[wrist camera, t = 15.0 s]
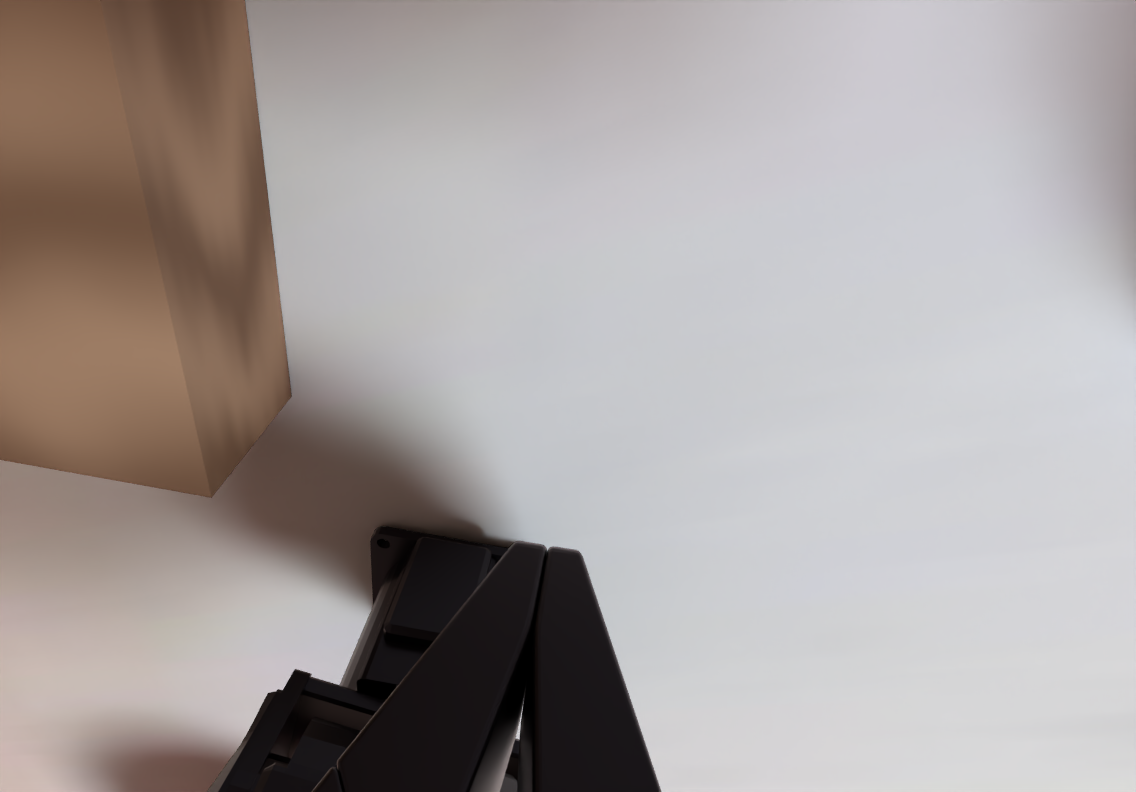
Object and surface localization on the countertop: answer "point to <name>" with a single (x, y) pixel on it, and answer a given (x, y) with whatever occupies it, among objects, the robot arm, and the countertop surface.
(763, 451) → the countertop surface
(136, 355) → the walnut block
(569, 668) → the robot arm
